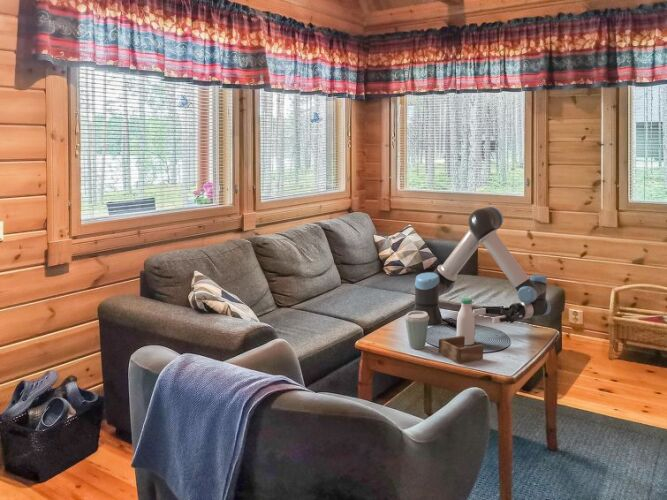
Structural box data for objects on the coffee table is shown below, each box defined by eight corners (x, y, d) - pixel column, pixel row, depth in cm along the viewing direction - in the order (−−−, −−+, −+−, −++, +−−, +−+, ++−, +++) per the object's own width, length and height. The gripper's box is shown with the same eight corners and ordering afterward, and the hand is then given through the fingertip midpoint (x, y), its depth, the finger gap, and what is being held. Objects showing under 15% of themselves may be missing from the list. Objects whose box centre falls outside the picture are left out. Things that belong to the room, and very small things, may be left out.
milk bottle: (474, 346, 259) (475, 301, 256) (456, 345, 261) (457, 300, 257) (473, 340, 267) (475, 297, 263) (456, 339, 268) (457, 296, 265)
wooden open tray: (438, 353, 251) (438, 339, 250) (462, 349, 256) (462, 335, 255) (458, 364, 239) (458, 349, 238) (482, 359, 243) (483, 345, 242)
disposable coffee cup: (424, 352, 252) (424, 318, 250) (400, 348, 258) (400, 314, 255) (432, 345, 262) (433, 311, 259) (409, 341, 267) (409, 308, 264)
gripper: (539, 325, 263) (501, 332, 255) (502, 312, 286) (465, 317, 277) (540, 309, 262) (502, 315, 254) (502, 296, 285) (466, 301, 276)
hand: (482, 316), depth 265 cm, fingers open, 13 cm apart
